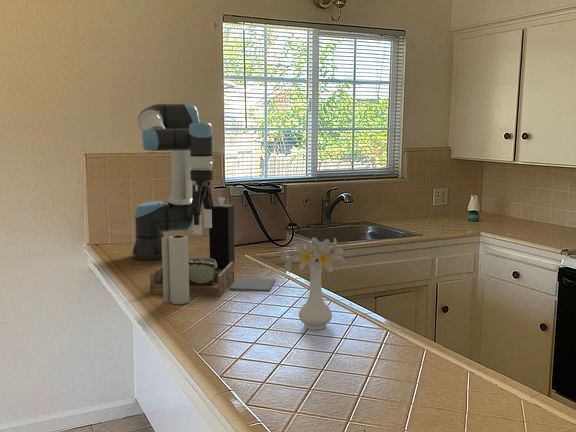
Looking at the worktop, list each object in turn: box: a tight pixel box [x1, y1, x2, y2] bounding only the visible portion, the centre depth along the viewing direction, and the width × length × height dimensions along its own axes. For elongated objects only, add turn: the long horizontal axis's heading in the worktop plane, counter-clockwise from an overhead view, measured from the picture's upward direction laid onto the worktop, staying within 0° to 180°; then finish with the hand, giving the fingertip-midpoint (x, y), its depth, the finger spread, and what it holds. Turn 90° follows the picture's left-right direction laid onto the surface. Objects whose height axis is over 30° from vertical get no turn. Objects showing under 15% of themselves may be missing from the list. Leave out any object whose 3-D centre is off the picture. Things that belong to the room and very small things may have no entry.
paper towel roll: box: [161, 234, 190, 305], centre depth 193 cm, size 7×6×21 cm
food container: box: [188, 257, 217, 286], centre depth 211 cm, size 12×6×10 cm, turn 71°
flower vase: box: [279, 236, 347, 331], centre depth 168 cm, size 13×18×25 cm
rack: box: [149, 262, 235, 297], centre depth 212 cm, size 21×24×7 cm
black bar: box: [208, 196, 236, 270], centre depth 239 cm, size 8×8×28 cm
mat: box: [228, 277, 277, 292], centre depth 214 cm, size 14×14×1 cm
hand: (202, 231), depth 209 cm, fingers open, 13 cm apart
